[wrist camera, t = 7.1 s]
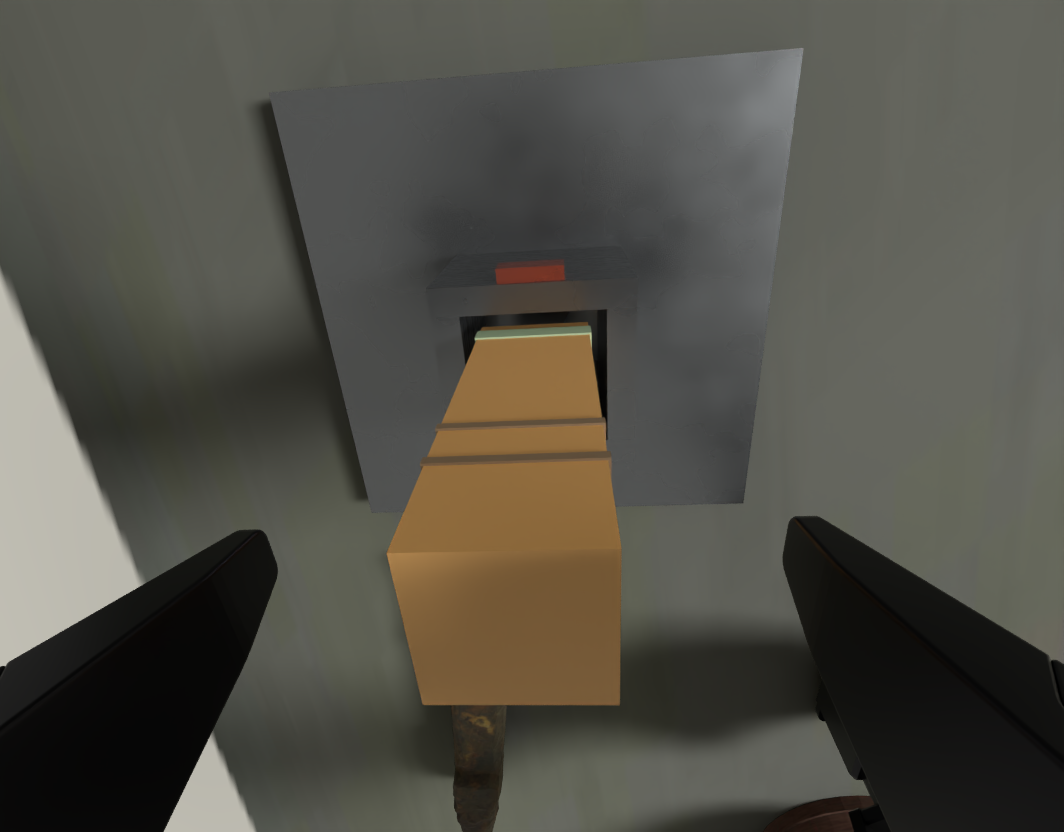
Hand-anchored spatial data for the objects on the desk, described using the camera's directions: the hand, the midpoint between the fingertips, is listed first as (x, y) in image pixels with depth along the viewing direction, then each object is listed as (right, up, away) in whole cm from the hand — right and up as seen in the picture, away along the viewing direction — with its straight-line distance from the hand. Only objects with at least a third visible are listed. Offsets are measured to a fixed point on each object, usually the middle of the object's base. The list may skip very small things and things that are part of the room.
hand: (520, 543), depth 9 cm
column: (0, +3, +7) cm, 7 cm away
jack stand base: (+1, +6, +12) cm, 13 cm away
